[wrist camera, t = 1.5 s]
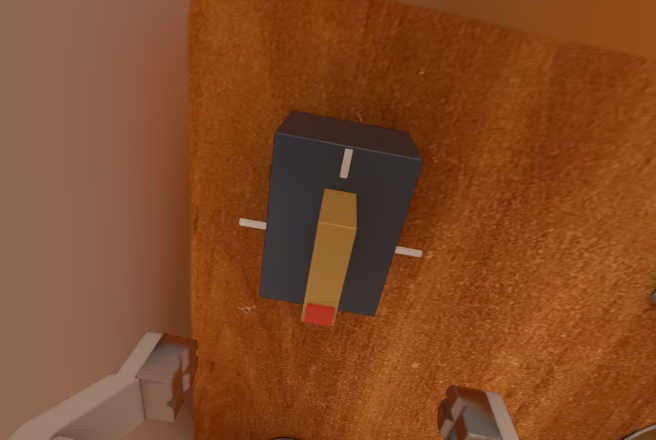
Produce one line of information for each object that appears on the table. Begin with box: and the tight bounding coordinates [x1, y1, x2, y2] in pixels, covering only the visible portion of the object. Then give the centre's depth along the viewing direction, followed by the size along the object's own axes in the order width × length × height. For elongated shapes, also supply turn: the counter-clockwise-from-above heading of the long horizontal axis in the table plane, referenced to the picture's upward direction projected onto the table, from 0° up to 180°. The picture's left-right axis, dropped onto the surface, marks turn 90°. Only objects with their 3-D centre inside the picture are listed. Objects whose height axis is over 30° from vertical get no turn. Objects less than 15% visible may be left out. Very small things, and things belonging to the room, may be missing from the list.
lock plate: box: [239, 111, 423, 316], centre depth 21 cm, size 10×10×5 cm
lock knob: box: [301, 188, 357, 327], centre depth 17 cm, size 6×2×4 cm, turn 170°
